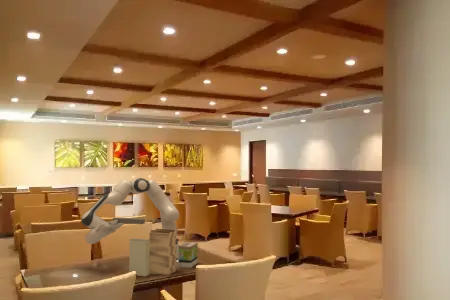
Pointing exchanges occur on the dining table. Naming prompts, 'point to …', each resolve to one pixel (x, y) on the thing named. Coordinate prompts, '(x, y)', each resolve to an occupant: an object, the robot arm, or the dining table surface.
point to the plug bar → (130, 220)
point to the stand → (162, 251)
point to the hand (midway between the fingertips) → (119, 219)
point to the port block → (139, 256)
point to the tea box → (187, 255)
